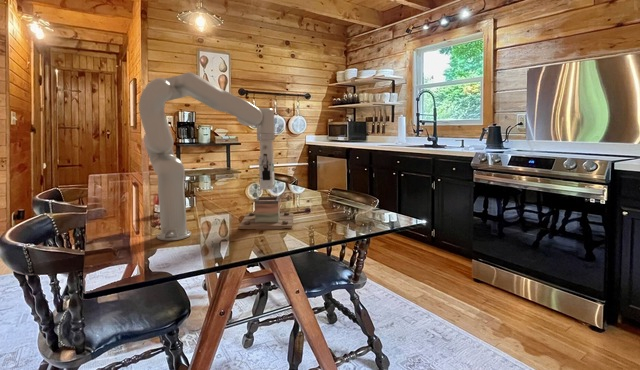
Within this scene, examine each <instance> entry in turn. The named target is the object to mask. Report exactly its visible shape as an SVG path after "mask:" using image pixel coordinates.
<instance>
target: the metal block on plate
mask: <svg viewBox="0 0 640 370" xmlns="http://www.w3.org/2000/svg"><path fill="white" fill-rule="evenodd" d="M280 201H281V199H280V196H256V198H255V199H254V212H249V213H245V215H244V218H242V221H241V222H240V224H239V225H238V230H239V229H256V230H283V229H282V228H292V229H293V225H292V224H293V223H294V212H289V211H284V212H281V211H280V210H281V209H280V207H281V204H280Z"/></svg>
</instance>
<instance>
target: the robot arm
mask: <svg viewBox="0 0 640 370" xmlns="http://www.w3.org/2000/svg"><path fill="white" fill-rule="evenodd" d="M186 97H191V98H192V99H195V100H197V101H198V102H199V103H202V104H204V105H205V106H207V107H209V108H211V109H212V110H214V111H219V112H223V113H225V114H229V115H231V116H234V117H236V120H237V122H238V123H239V124H240V125H242V126H246V127H249V126H253V127H256V139H257V140H256V141H257V142H259V156H260V158H261V164H262V161H263V171H262V177H263V180H270V171H269V163H271V164H272V163H273V156H274V144H273V142H275V141H276V139H275V138H276V137H275V110H274V109H273V108H272V107H271V108H269V107H260V108H259V107H257V106H256V105H253V104H252V103H251V102H249V101H247V100H245V99H243V98H241V97H239V96H237V95H234V94H232V93H231V92H229V91H226V90H224V89H223V88H221V87H219V86H217V85H215V84H213V83H212V82H210V81H209V80H207V79H205V78H204V77H202V76H200V75H198V74H196V73H195V72H189V71H188V72H187V71H186V72H184V73H182V74H180V75H179V74H178V75H175V76H172V77H167V78H161V77H157V78H154V79H153V80H151V81H149V82H147V84H146V85H145V88H144V89H143V90H142V92H141V95H140V97H139V100H138V112H139V117H140V120H141V123H142V127H143V130H144V138H143V143H144V147H145V150H146V152H147V155H148V159H149V161H150V164H151V167H152V169H153V172H154V173H155V174H156V175H157V194H158V195H157V197H158V205H159V220H160V221H159V223H160V232H158V233H157V234H156V235H157V236H156V238H157V239H158V240H160V241H167V242H168V241H178V240H184V239H186V238H189V237H191V235H192V231H191V230H189V229H187V227H188V225H187V213H186V212H187V211H186V209H187V208H186V206H185V201H186V195H185V173H186V171H185V165H184V164H183V162H182V161H181V159H180V158H178V157H176V156H175V152H174V149H173V147H174V137H173V135H172V131H171V128H170V126H169V124H168V119H167V116H166V112H165V105H166V103H167V102H169V101H173V100H177V99H182V98H186ZM267 162H268V163H267Z"/></svg>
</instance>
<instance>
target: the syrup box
mask: <svg viewBox="0 0 640 370" xmlns="http://www.w3.org/2000/svg"><path fill="white" fill-rule="evenodd" d="M274 157H275V156H274V155H273V163H272V164H271V163H269V171H270V180H263V177H262V171H263V161H262V164H261V158H260V155H259V156H258V172H259V173H258V174H259V189H260V190H274V188H275V187H276V184H275V183H276V181H275V180H276V179H275V164H274V163H275V161H274V160H275V159H274ZM267 163H268V162H267Z"/></svg>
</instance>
